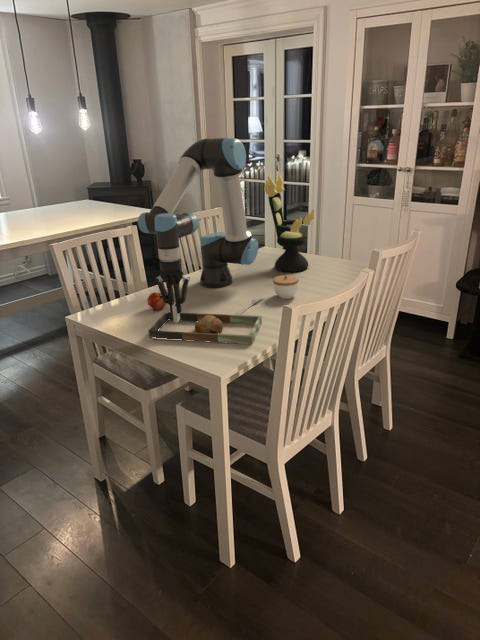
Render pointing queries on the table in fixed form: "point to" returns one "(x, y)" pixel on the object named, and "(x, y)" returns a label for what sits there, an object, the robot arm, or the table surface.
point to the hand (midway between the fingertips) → (177, 320)
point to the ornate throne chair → (287, 230)
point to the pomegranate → (156, 301)
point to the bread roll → (208, 325)
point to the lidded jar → (285, 286)
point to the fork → (247, 307)
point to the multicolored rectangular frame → (208, 336)
